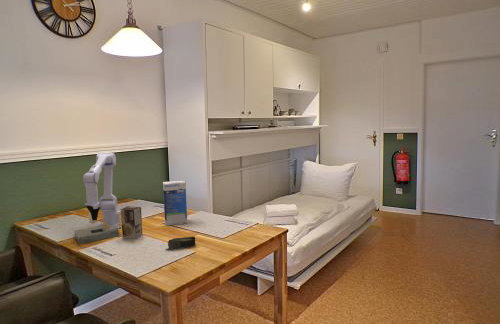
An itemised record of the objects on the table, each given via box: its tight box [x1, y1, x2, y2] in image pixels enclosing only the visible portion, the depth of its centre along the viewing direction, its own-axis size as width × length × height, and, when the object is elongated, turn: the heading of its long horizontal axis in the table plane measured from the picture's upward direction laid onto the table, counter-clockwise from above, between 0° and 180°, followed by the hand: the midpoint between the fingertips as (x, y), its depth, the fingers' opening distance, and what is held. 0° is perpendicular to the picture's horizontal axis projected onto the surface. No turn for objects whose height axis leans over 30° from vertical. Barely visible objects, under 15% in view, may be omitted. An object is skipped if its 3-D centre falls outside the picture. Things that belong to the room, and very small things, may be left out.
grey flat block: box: [73, 224, 120, 245], centre depth 190 cm, size 20×14×4 cm
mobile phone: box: [165, 236, 196, 251], centre depth 172 cm, size 5×3×15 cm
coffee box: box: [120, 205, 143, 240], centre depth 188 cm, size 9×6×16 cm
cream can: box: [88, 211, 98, 224], centre depth 187 cm, size 4×4×7 cm
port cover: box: [102, 222, 122, 231], centre depth 193 cm, size 8×8×3 cm
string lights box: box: [162, 180, 188, 226], centre depth 211 cm, size 13×8×26 cm, turn 108°
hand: (93, 219), depth 187 cm, fingers closed on cream can, 4 cm apart
